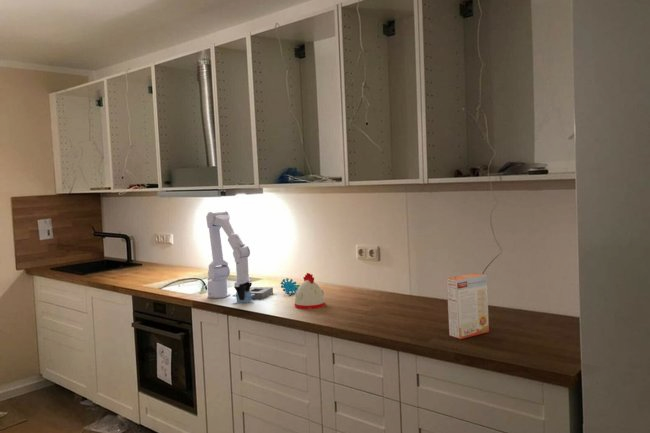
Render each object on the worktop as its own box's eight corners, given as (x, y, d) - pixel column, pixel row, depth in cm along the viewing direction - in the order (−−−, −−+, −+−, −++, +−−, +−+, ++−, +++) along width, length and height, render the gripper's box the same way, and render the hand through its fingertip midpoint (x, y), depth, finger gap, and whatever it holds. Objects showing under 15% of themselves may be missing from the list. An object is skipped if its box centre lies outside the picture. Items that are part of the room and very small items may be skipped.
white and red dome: (304, 310, 229) (303, 277, 228) (289, 305, 240) (287, 273, 239) (330, 305, 236) (329, 273, 236) (314, 300, 248) (313, 269, 247)
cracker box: (477, 329, 190) (475, 272, 188) (489, 332, 184) (488, 274, 183) (447, 335, 183) (446, 277, 182) (459, 339, 178) (458, 279, 176)
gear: (284, 293, 260) (279, 277, 266) (280, 300, 263) (274, 284, 269) (303, 293, 266) (298, 277, 272) (299, 299, 269) (293, 284, 275)
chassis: (240, 298, 259) (239, 292, 259) (251, 292, 273) (251, 287, 273) (262, 299, 256) (261, 293, 256) (273, 293, 269) (272, 287, 269)
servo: (251, 303, 249) (251, 290, 248) (232, 302, 252) (232, 290, 251) (255, 301, 253) (254, 289, 252) (236, 300, 255) (235, 288, 255)
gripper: (243, 273, 243) (245, 302, 244) (256, 268, 257) (257, 295, 258) (229, 273, 245) (231, 302, 246) (243, 268, 259) (244, 295, 260)
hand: (243, 298), depth 252 cm, fingers open, 4 cm apart
